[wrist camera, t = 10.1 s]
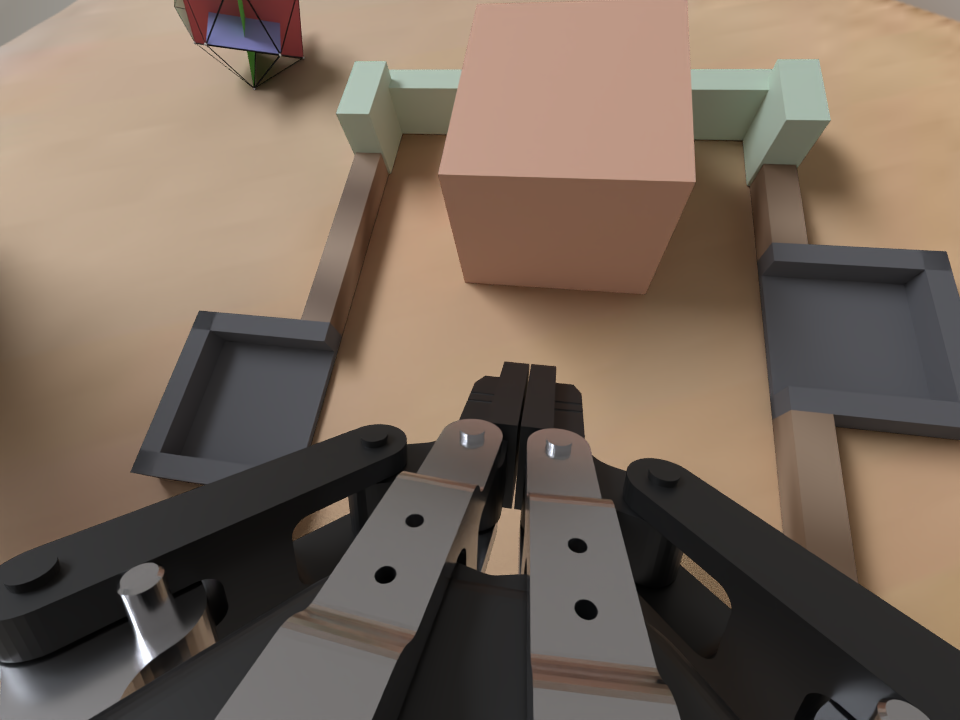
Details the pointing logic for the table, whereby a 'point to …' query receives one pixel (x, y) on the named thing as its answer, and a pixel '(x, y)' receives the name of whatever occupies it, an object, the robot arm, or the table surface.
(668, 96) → the terracotta block
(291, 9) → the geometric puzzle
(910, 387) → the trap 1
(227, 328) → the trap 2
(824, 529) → the walnut lane
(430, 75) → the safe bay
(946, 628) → the table surface
